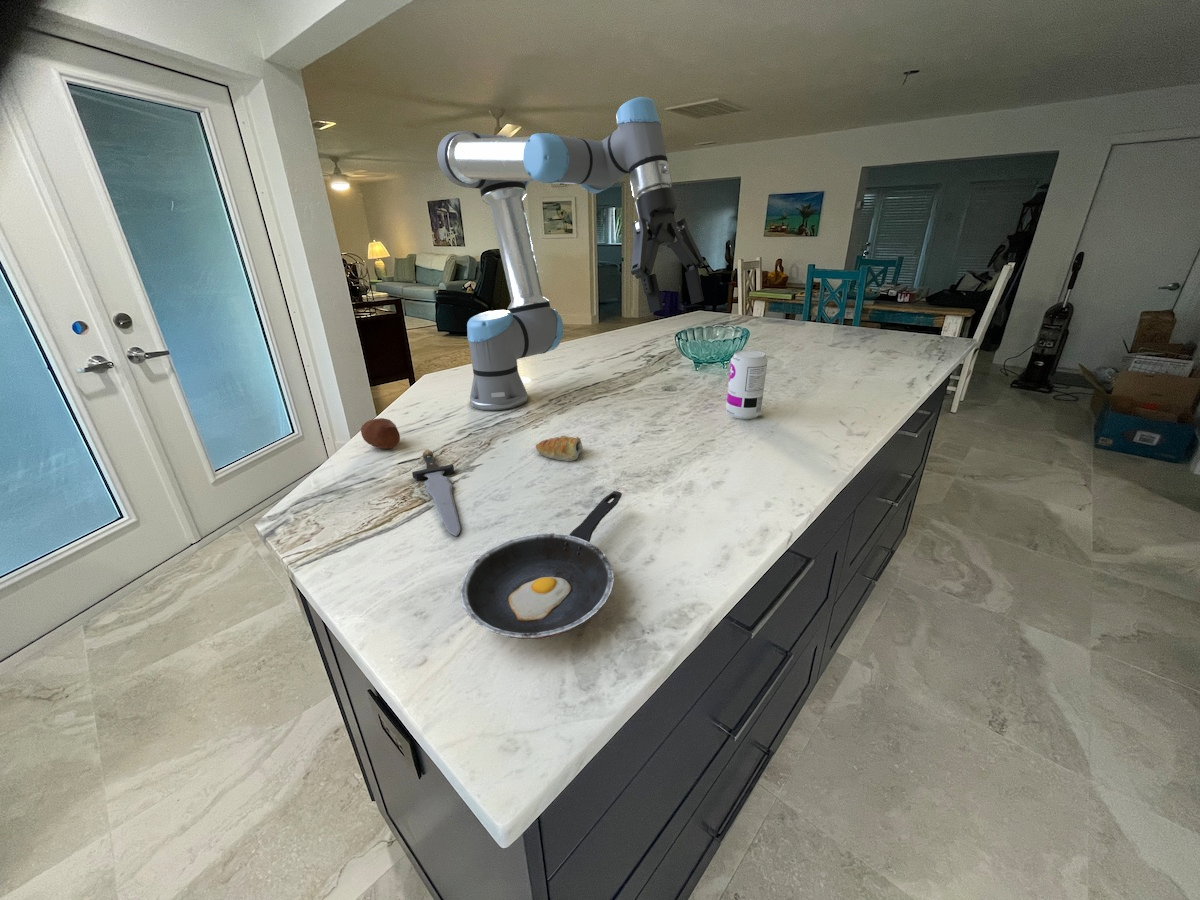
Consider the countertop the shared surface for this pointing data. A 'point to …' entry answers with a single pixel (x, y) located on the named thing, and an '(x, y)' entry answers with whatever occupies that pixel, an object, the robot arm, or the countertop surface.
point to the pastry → (560, 448)
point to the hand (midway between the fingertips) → (678, 306)
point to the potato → (380, 433)
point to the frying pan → (540, 581)
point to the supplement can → (746, 384)
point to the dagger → (440, 490)
